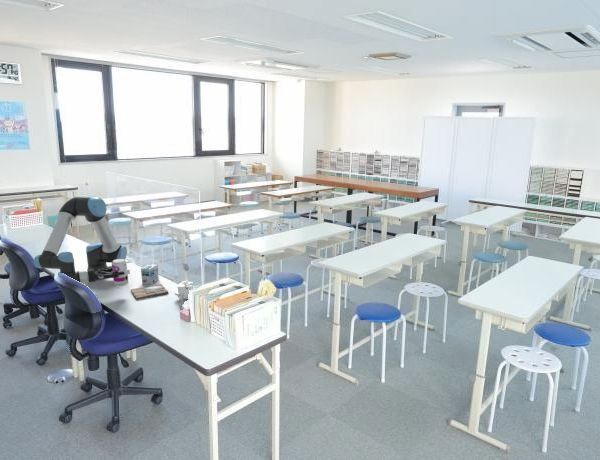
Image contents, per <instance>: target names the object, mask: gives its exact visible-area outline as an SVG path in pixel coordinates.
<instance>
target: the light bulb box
mask: <svg viewBox="0 0 600 460" xmlns="http://www.w3.org/2000/svg"><path fill="white" fill-rule="evenodd" d="M140 273H141V284H142V285H149V286H152V285H153V284H154V283H157V281H159V279H160V278H159V277H160V276H159V265H158V264H153V263H152V264H151V263H148V264H146V265H145V266H143V267H142V268H140Z"/></svg>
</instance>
